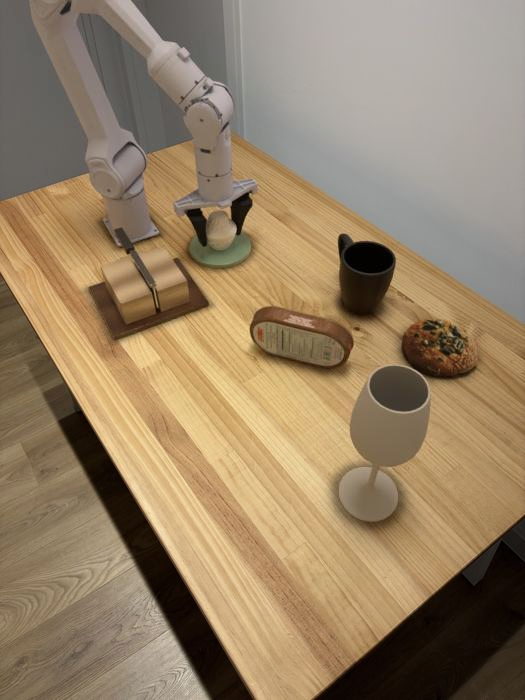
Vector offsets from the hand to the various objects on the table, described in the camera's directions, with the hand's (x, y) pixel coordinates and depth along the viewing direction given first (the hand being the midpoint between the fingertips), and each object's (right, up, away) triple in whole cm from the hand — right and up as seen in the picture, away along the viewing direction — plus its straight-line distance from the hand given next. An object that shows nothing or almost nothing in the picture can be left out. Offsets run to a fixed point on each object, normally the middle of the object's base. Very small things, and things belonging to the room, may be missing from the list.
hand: (219, 237), depth 98 cm
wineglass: (+20, -38, -30) cm, 52 cm away
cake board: (-11, -11, -7) cm, 17 cm away
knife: (-13, -8, -6) cm, 16 cm away
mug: (+23, -11, -7) cm, 26 cm away
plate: (0, -2, +2) cm, 2 cm away
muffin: (0, -1, +1) cm, 2 cm away
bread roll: (+34, -20, -15) cm, 42 cm away
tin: (+13, -21, -15) cm, 29 cm away
